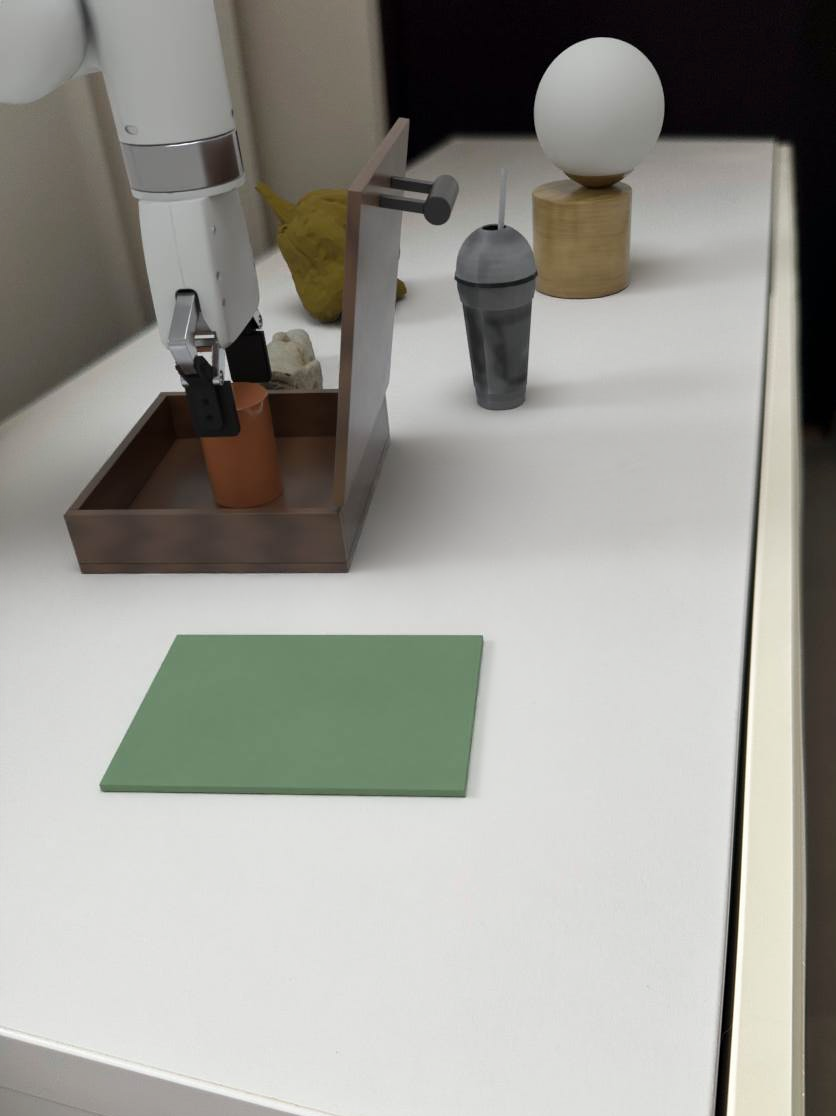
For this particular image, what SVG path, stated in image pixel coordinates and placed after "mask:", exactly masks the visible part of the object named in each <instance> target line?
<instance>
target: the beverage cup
mask: <svg viewBox="0 0 836 1116" xmlns="http://www.w3.org/2000/svg"><path fill="white" fill-rule="evenodd" d="M508 169H509V167H507V166H501V173H500V174H501V175H500V186H499V188H500V189H499V205H498V220H497V223H487V224H485V225H481V226H480V227H478V228H476V229H475V230H473V231H472V232H471V233H470V234H469V235H468V236H467V237H466V238H465V239H464V240H463V242H462V244H461V246H460V247H459V250H458V253H457V256H456V263H455V270H454V281H456V288H457V293H458V297H459V300H460V301H459V302H461V305H462V312H463V318H464V320H463V321H464V327H465V333H466V339H467V347H468V355H469V361H470V368H471V374H472V376H471V377H472V382H473V388H474V391H475V396H476V403H477V404H478V406H480V407H482V408H484V409H488V410H493V411H494V410H495V411H501V410H502V411H503V410H504V411H505V410H511V409H515V408H518V407H519V406H521V405H523V404H524V403H525V401H526V393H527V392H526V391H527V385H528V376H529V375H528V374H529V373H528V372H529V357H530V343H531V342H530V341H531V327H532V326H531V325H532V309H533V299H534V298H535V291H536V288H535V286H536V277H537V276H538V272H537V268H536V265H535V258H534V254H533V248H532V246H531V245H530V243H529V241H528V240H527V238H526V237H525V236H524V235H523V234H522V233H521V232H519V231H518V230H517V229H515V228H514V227H513V226H510V225H506V224H505V215H506V200H507V184H508Z"/></svg>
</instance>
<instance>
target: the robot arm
mask: <svg viewBox="0 0 836 1116" xmlns="http://www.w3.org/2000/svg"><path fill="white" fill-rule="evenodd" d="M221 42H222V41H221V37H220V31H219V25H218V20H217V14H216V10H215V4H214V0H0V104H6V105H24V104H29V103H33V102H35V101H38V100H40V99H42V98H44V97H46V96H47V95H49V94H51V93H52V92H54V91H55V90H56V89H58V88H59V87H61V86H63V85H65V84H67V83H69V82H71V81H73V80H75V79H76V78H79V77H83V76H87V75H90V74H95V73H100V72H101V73H102V77H103V81H104V84H105V88H106V93H107V97H108V101H109V105H110V109H111V114H112V117H113V121H114V125H115V126H114V127H115V129H116V133H117V137H118V138H117V139H118V141H119V146H120V150H121V154H122V158H123V162H124V167H125V170H126V174H127V179H128V183H129V186H130V192H131V195H132V197H133V198H135V199H138V203H137V204H138V217H139V226H140V227H139V228H140V235H141V236H140V237H141V242H142V243H141V244H142V250H143V257H144V262H145V267H146V268H145V269H146V273H147V279H148V283H149V290H150V294H151V300H152V303H153V308H154V312H155V318H156V324H157V327H158V333H159V336H160V340H161V343H162V345H163V346H164V348H166V350H168V351H169V352H170V353H171V355H172V358H173V360H174V363H175V365H174V369H175V370H176V371H177V373H178V375H179V378H180V384H181V386H182V387H183V388H184V392H186V396H187V400H188V404H189V409H190V413H191V417H192V421H193V425H194V429H195V433H196V435H197V436H198V437H235V436H237V435H238V434H239V433H240V431H241V427H240V423H239V418H238V413H237V409H236V404H235V399H234V395H233V390H232V385H231V383H232V382H249V383H267V382H269V381H270V380H271V378H272V372H271V366H270V361H269V356H268V350H267V345H268V344H267V340H266V335H265V330H262V329H263V326H264V325H263V323H264V322H263V316H262V314H261V312H260V310H259V304H260V289H259V280H258V274H257V273H258V272H257V269H256V263H255V257H254V253H253V247H252V243H251V239H250V235H249V230H248V226H247V221H246V217H245V213H244V209H243V206H242V201H241V197H240V194H239V190H238V189H239V188H241V187H242V186H244V184H245V183H246V182H247V178H246V173H245V168H244V167H245V166H244V163H243V156H242V151H241V146H240V140H239V134H238V129H237V127H236V126H237V124H236V119H235V113H234V108H233V107H234V106H233V102H232V98H231V92H230V87H229V82H228V81H229V80H228V75H227V68H226V64H225V59H224V58H225V57H224V54H223V53H224V52H223V46H222V43H221ZM196 336H213V337H201V338H200V337H199V338H197V337H196ZM198 353H211V363H209V361H208V360H207V359H206V358H205V356H203V355H198ZM226 361H227V366H228V370H229V371H228V372H229V375H230V380H229V379H227V380H225V375H226V374H225V373H226Z"/></svg>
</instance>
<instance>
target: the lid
mask: <svg viewBox="0 0 836 1116" xmlns="http://www.w3.org/2000/svg"><path fill="white" fill-rule="evenodd" d="M409 132H410V118H406V117H398V118H397V120H396V121H395V123H394V124H393V125H392V126H391V128H390V129H389V131H388V132H387V134H386V136H385V137H384V138H383V140H382V141H381V142H380V144H379V145H378V146H377V148H376V150H375V151H374V152H373V153H372V155H371V157H370V158H369V159H368V161H367V162H366V164H365V165H364V166H363V168H362V169H361V171H360V172H359V174H358V175H357V176H356V178H355V179H354V181H353V182H352V184H351V185H350V186H349V187H348V188H347V189H348V197H347V218H346V239H345V260H344V281H343V303H342V311H341V325H340V327H341V328H340V346H339V347H340V349H339V368H338V369H339V370H338V388H337V389H338V408H337V429H336V450H335V471H334V492H333V506H338V507H344V506H345V504H346V501H347V498H348V495H349V493H350V490H351V487H352V484H353V481H354V479H355V476H356V473H357V470H358V468H359V465H360V462H361V459H362V457H363V454H364V451H365V448H366V445H367V443H368V440H369V437H370V434H371V432H372V429H373V426H374V423H375V421H376V418H377V415H378V412H379V409H380V407H381V404H382V401H383V398H384V396H385V393H387V390H388V387H389V384H390V377H391V364H392V363H391V362H392V350H393V339H394V326H395V314H396V313H395V312H396V301H397V298H396V288H397V278H398V275H399V274H398V273H399V261H400V259H399V250H400V251H401V238H402V237H401V236H402V223H403V212H408V213H413V214H414V213H415V214H421V215H423V217H424V219H425V220H426V221H427V222H428V223H429V224H431V225H433V226H442V225H445V224H446V223H447V222H449V220H450V218H451V216H452V212H453V210H454V206H455V204H456V201H457V199H458V196H459V192H460V186H459V183H458V180H457V179H456V178H455V177H454V176H453V175H450V174H441V175H439V176H437V177H436V178H435V180H434V181H431V180H425V179H417V178H410V177H406V172H407V171H406V170H407V159H408V158H407V157H408V144H409V134H410V133H409ZM405 192H410V193H411V192H413V193H419V194H426V195H427V197H426V199H420V198H413V197H406V196H405Z"/></svg>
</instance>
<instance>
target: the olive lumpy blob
mask: <svg viewBox="0 0 836 1116" xmlns="http://www.w3.org/2000/svg"><path fill="white" fill-rule="evenodd" d="M348 189H349V188H341V189H339V188H338V189H330V188H322V189H321V188H320V189H315V190H311V191H308V192H307V193H306V194H305V195H304V196H302V197H300V198H299V199H298V201H297V202H296V203H295V204H294V203H292V202H290V201H287V200H286V199H284V198H282V197H281V196H280V195H278V194H277V193H276V192H274V191H273V190H272V189H271V188H270V187H269V186H267V184H266V183H265V182H264V181H263V180H262V181H261V182H259V183H258V184H257V185H256V186H255V187H254V190H256V192H258V194H260V196H261V197H262V198H263V199H264V200H265V202H266V203H267V205H268V206H269V208H270V209H271V211H272V212H273V214H274V215H275V216H276V218H277V220H278V221H279V222H280V224H279V225H278V226H276V227H275V228H276V230H277V233H278V234H277V235H276V244H277V246H278V249H279V251H280V253H281V255H282V258H283V260H284V261H285V263H286V265H287V267H288V270H289V272H290V274H291V279H292V281H293V283H294V287H295V291H296V293H297V296H298V298H299V300H300V301H301V303H302V306H303V308H304V310H305V311H306V312H307V313H308V314H309V316H310V317H312V318H313V319H315V320H317V321H319V322H323V323H333V322H334V321H336V320H337V319H338V318H339V316H340V315H341V314H342V303H343V281H344V260H345V239H346V218H347V197H348ZM400 258H401V249H400V250H399V260H400ZM407 289H408V288H407V286H406V284H405V282H404V281H402V280H401V279H400V278H398V277H397V288H396V299H399V298H402V297H404V296H406V294H408V293H407Z"/></svg>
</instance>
